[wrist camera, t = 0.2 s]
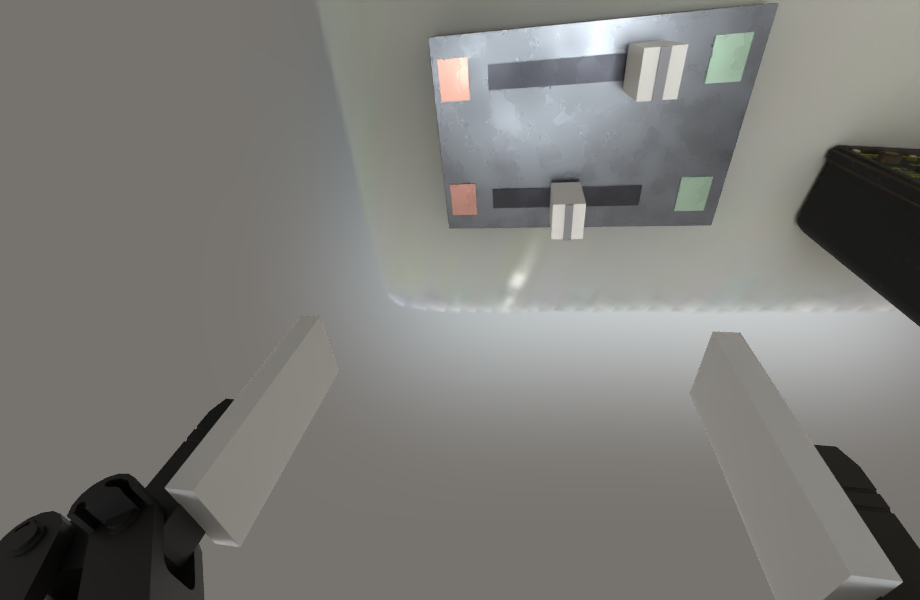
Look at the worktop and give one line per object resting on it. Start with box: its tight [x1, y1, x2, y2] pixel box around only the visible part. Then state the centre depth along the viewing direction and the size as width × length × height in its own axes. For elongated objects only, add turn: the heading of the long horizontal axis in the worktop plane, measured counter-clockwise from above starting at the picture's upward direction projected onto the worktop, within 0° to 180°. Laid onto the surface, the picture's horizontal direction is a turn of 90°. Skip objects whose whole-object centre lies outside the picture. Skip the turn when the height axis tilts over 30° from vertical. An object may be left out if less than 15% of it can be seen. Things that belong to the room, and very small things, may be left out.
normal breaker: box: [623, 40, 688, 102], centre depth 27 cm, size 3×2×5 cm
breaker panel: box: [428, 3, 778, 228], centre depth 34 cm, size 16×24×2 cm, turn 95°
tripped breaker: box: [550, 182, 586, 240], centre depth 33 cm, size 3×2×5 cm
